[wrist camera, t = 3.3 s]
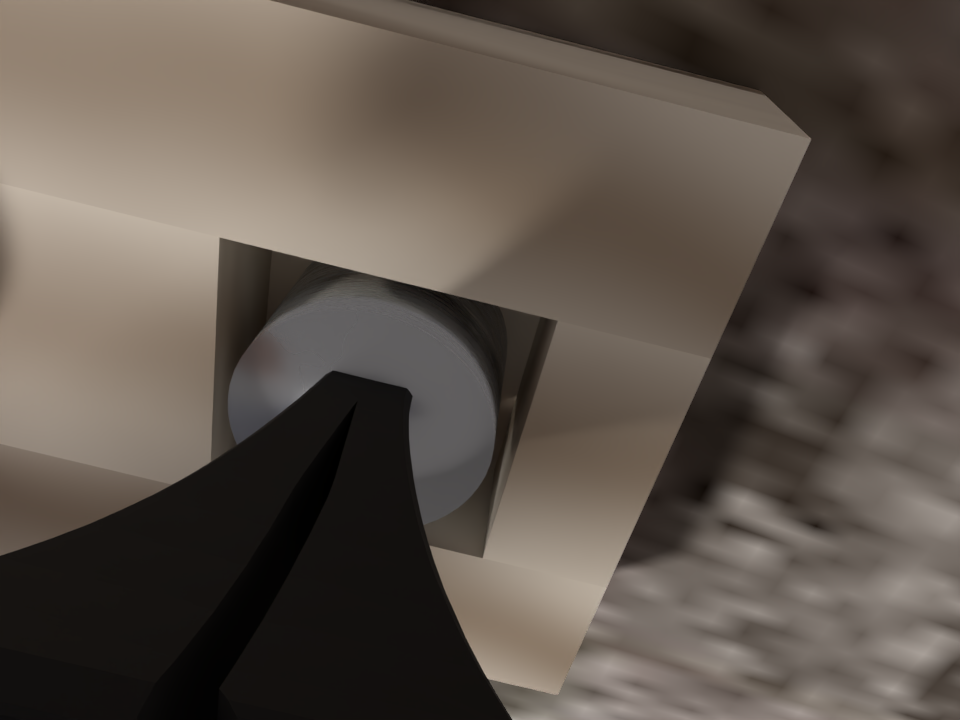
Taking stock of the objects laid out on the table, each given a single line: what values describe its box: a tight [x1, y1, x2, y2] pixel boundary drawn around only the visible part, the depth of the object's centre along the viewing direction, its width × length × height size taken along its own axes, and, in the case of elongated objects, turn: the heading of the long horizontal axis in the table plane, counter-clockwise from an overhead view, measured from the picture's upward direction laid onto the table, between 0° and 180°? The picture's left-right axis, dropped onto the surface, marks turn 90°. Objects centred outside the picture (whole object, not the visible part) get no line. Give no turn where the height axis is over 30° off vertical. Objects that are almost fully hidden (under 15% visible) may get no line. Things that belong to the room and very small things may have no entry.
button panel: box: [0, 0, 811, 695], centre depth 14 cm, size 12×20×3 cm, turn 77°
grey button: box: [228, 261, 508, 525], centre depth 14 cm, size 4×4×3 cm
